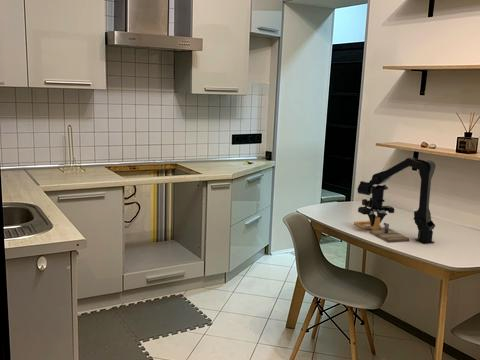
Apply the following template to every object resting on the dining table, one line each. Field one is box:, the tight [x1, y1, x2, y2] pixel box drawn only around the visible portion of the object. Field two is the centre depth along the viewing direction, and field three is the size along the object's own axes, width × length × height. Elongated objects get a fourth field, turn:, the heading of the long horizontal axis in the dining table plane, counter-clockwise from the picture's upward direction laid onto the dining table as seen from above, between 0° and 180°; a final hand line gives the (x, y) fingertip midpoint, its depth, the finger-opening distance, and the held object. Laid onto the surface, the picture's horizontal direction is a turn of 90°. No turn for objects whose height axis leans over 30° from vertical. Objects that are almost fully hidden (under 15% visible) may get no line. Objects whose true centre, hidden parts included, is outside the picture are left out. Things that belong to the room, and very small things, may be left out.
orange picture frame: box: [353, 215, 381, 230], centre depth 252 cm, size 14×10×7 cm
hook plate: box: [369, 222, 410, 244], centre depth 236 cm, size 16×12×6 cm
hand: (374, 225), depth 247 cm, fingers closed on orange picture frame, 3 cm apart
